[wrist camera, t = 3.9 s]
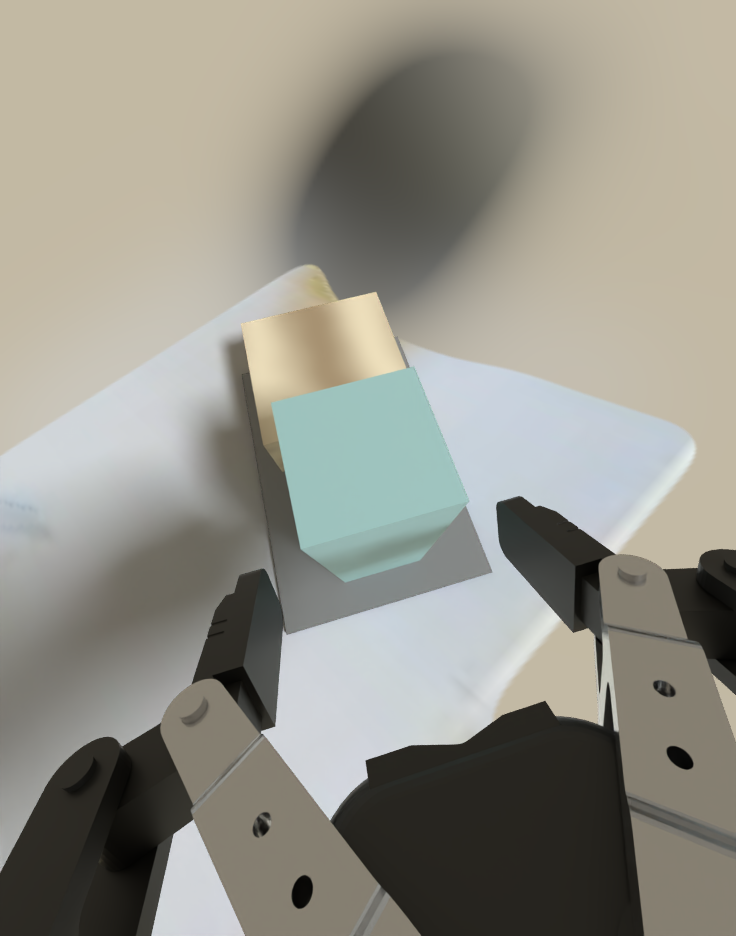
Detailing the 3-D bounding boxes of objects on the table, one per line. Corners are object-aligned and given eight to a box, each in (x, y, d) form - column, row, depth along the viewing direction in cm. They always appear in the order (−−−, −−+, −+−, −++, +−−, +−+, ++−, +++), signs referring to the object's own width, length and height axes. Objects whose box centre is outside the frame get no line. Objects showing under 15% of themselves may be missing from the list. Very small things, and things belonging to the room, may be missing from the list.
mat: (287, 634, 19) (286, 634, 19) (243, 377, 26) (241, 374, 26) (490, 572, 20) (492, 572, 20) (397, 339, 27) (397, 336, 26)
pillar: (345, 582, 20) (300, 549, 9) (327, 509, 21) (271, 402, 10) (420, 560, 20) (469, 501, 9) (396, 489, 22) (413, 366, 11)
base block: (282, 471, 22) (263, 445, 19) (260, 364, 26) (240, 323, 22) (414, 436, 23) (420, 404, 19) (376, 336, 26) (376, 291, 23)
